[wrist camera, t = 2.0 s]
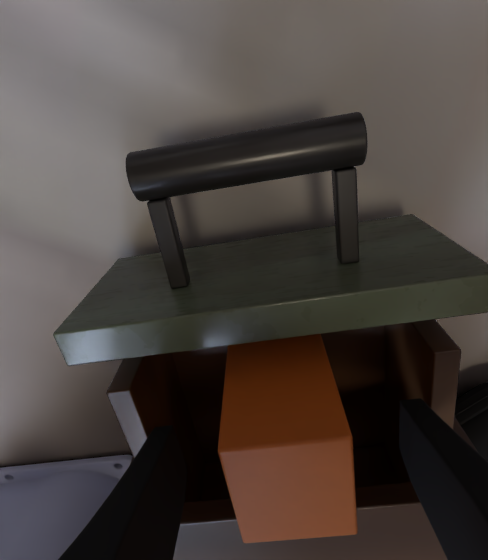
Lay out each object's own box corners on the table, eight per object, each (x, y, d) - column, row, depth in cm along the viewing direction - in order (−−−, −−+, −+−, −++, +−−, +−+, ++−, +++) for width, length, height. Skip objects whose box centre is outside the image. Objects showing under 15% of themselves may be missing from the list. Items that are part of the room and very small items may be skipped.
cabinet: (156, 383, 20) (106, 530, 13) (413, 352, 19) (507, 495, 12) (208, 534, 26) (192, 691, 19) (407, 517, 24) (468, 678, 18)
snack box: (245, 383, 17) (242, 545, 11) (230, 311, 15) (216, 452, 9) (318, 375, 17) (358, 536, 11) (310, 299, 15) (353, 437, 9)
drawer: (83, 155, 14) (-18, 184, 9) (416, 95, 13) (530, 87, 8) (185, 457, 21) (163, 574, 16) (405, 435, 20) (461, 552, 15)
